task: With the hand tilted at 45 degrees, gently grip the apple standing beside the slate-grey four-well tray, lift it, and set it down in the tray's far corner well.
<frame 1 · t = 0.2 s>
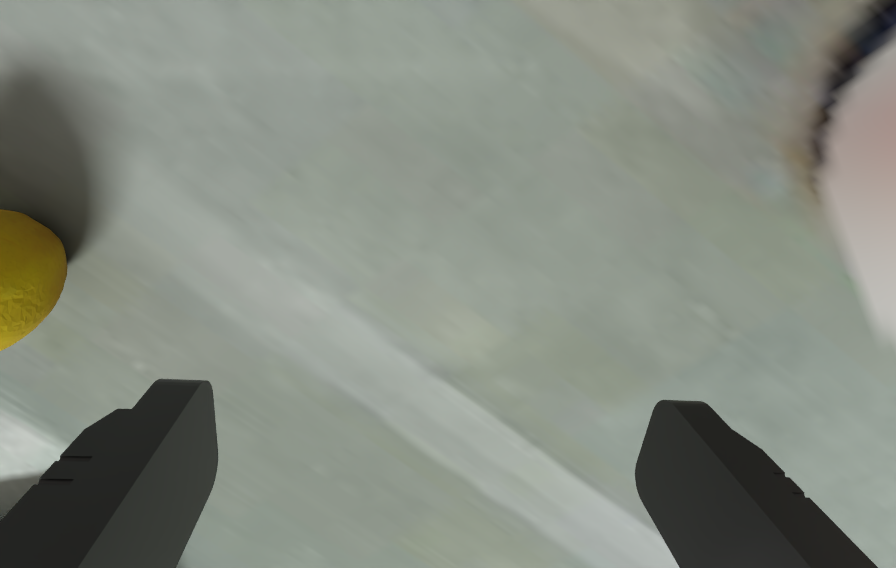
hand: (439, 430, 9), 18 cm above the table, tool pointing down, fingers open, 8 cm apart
apple: (34, 247, 25), on the table
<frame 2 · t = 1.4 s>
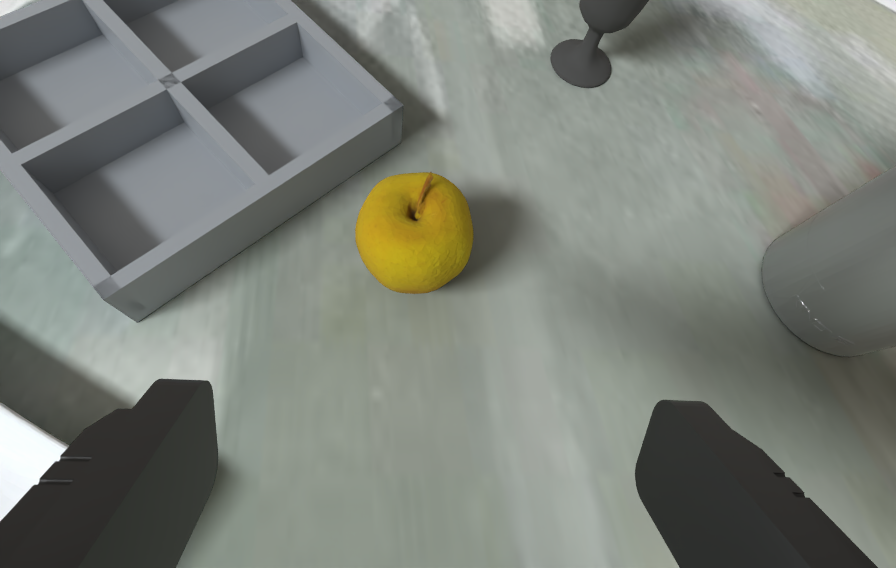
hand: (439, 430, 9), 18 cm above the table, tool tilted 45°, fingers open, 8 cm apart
sundae: (580, 66, 39), on the table
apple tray: (190, 122, 32), on the table
apple: (410, 265, 31), on the table
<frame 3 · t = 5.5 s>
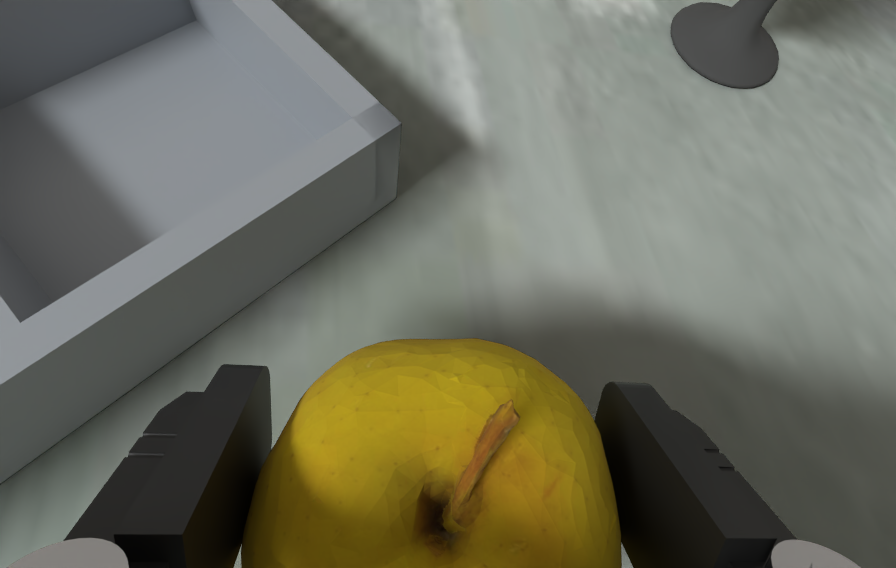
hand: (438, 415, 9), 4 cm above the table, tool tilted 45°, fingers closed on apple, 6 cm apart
sundae: (721, 50, 22), on the table
apple: (416, 503, 13), on the table, touching gripper
when the fingers open (7 cm above the table, at t = 11.2 s): apple drops 1 cm, resting on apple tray.
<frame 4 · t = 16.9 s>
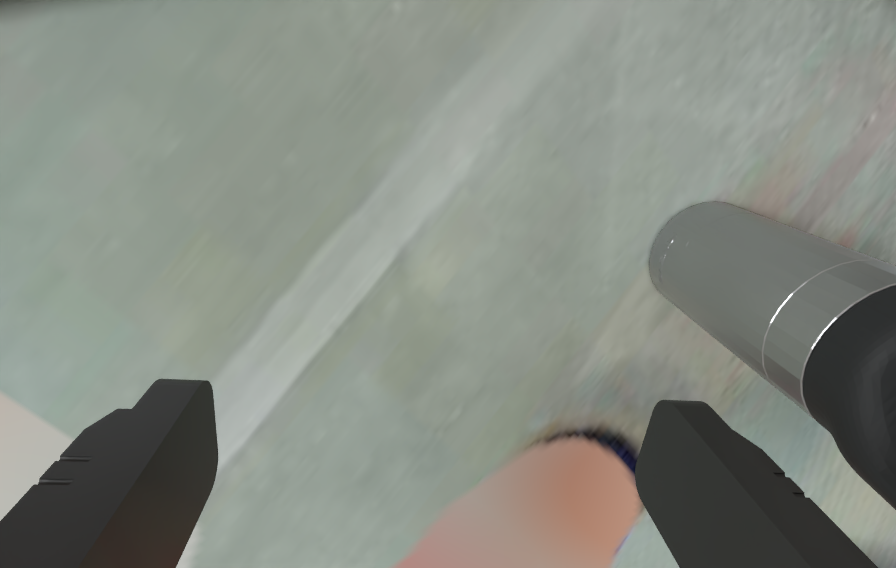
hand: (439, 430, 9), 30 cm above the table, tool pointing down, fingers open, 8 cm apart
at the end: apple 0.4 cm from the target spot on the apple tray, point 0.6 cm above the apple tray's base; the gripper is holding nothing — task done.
